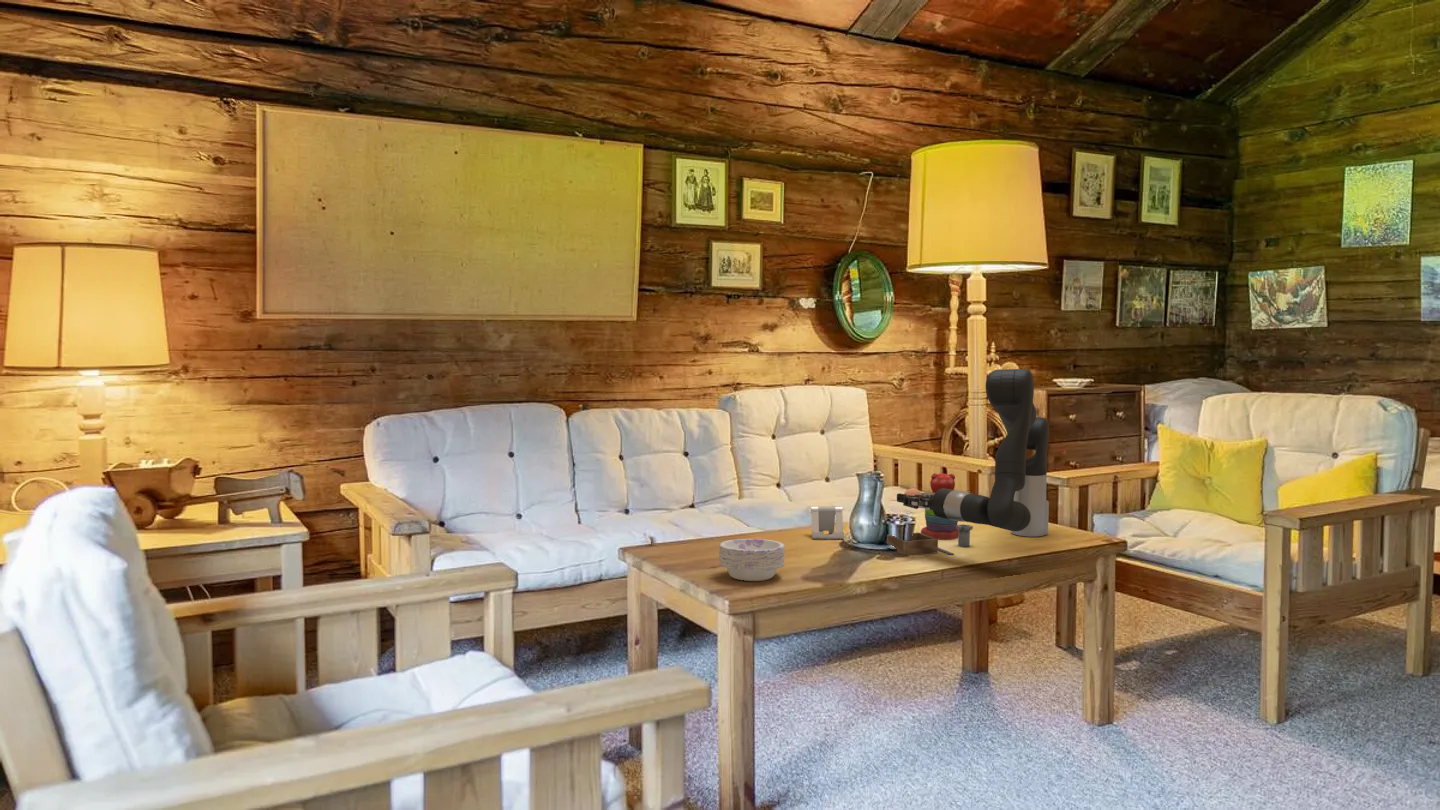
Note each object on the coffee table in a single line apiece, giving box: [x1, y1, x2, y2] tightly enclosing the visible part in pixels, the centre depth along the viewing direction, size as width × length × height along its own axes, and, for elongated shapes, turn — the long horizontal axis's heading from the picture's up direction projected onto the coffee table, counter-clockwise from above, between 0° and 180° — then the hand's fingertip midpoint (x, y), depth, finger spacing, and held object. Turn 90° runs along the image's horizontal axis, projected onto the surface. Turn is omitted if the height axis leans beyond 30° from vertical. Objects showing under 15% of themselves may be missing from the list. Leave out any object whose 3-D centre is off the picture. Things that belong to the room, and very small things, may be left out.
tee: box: [956, 524, 974, 548], centre depth 271 cm, size 4×4×5 cm
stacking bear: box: [920, 472, 959, 541], centre depth 283 cm, size 11×10×18 cm
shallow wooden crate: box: [886, 531, 939, 556], centre depth 266 cm, size 10×10×4 cm
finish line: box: [938, 547, 955, 556], centre depth 268 cm, size 1×16×1 cm, turn 19°
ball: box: [903, 487, 922, 501], centre depth 265 cm, size 5×5×5 cm
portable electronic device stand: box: [810, 505, 845, 540], centre depth 282 cm, size 9×8×8 cm
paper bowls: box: [718, 538, 786, 582], centre depth 237 cm, size 15×15×8 cm
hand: (905, 496), depth 267 cm, fingers closed on ball, 5 cm apart
